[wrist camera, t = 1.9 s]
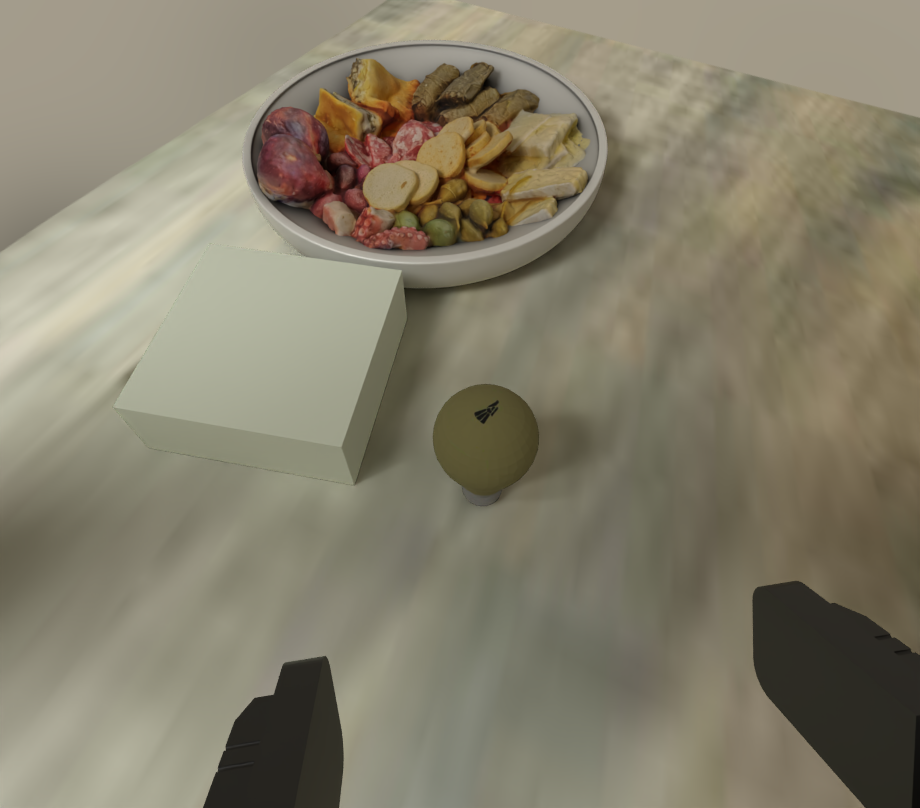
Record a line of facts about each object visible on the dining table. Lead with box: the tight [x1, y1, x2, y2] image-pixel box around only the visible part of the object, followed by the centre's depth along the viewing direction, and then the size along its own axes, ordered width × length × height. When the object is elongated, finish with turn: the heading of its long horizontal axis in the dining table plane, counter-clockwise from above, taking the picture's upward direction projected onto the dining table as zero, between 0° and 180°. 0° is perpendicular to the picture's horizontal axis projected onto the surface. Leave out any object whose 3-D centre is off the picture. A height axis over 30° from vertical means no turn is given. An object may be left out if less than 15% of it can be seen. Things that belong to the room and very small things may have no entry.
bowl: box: [242, 40, 608, 288], centre depth 52 cm, size 30×30×8 cm
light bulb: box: [433, 384, 539, 506], centre depth 34 cm, size 6×6×10 cm
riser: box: [113, 243, 407, 485], centre depth 41 cm, size 14×14×5 cm
